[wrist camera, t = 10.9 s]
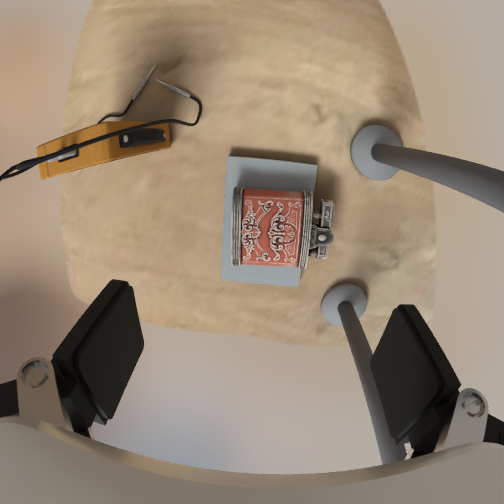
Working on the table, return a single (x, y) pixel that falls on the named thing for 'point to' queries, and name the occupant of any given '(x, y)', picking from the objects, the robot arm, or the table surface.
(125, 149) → the multimeter
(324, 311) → the far cord post
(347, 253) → the table surface
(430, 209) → the table surface
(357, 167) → the post
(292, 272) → the mat
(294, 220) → the lighter
